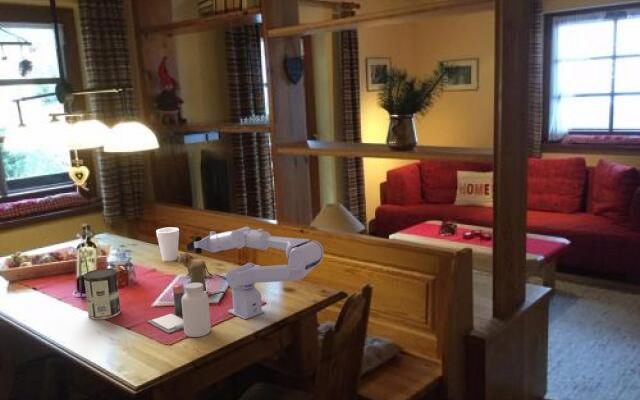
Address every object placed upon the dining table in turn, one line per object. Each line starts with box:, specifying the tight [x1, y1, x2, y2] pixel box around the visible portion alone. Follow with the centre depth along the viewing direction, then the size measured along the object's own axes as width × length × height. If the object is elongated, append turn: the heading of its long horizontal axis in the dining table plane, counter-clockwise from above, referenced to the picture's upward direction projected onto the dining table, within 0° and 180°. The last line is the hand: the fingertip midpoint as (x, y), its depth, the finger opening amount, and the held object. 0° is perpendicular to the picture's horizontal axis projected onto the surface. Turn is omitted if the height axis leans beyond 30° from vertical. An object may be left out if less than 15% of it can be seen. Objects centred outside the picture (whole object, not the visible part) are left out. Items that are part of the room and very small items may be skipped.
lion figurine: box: [177, 251, 213, 278], centre depth 226 cm, size 15×5×9 cm, turn 71°
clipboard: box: [146, 312, 184, 335], centre depth 181 cm, size 13×9×1 cm
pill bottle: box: [182, 282, 212, 338], centre depth 173 cm, size 8×8×15 cm
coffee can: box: [83, 267, 122, 321], centre depth 189 cm, size 10×10×14 cm
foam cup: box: [155, 226, 180, 262], centre depth 248 cm, size 10×9×13 cm
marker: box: [172, 283, 185, 316], centre depth 188 cm, size 3×3×10 cm
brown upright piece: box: [189, 263, 207, 292], centre depth 206 cm, size 6×6×11 cm
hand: (196, 246), depth 197 cm, fingers open, 7 cm apart
